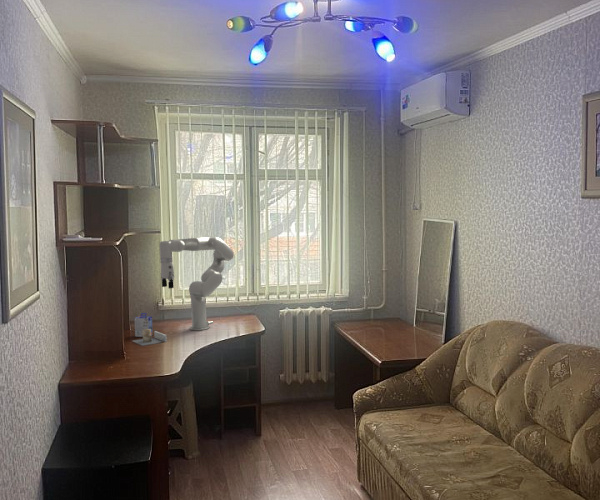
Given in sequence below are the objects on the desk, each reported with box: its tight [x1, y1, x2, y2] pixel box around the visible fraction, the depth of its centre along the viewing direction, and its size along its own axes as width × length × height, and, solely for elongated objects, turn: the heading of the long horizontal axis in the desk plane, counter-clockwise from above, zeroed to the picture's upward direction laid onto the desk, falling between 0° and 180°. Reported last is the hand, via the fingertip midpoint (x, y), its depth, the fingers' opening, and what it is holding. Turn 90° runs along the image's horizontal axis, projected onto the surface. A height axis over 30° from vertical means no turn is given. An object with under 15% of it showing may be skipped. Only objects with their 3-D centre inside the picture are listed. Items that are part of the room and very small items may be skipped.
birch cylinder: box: [142, 329, 152, 342], centre depth 358 cm, size 5×5×7 cm
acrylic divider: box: [153, 330, 168, 343], centre depth 363 cm, size 1×16×4 cm, turn 37°
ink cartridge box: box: [134, 312, 154, 338], centre depth 374 cm, size 10×6×14 cm, turn 78°
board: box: [131, 336, 163, 347], centre depth 359 cm, size 13×16×1 cm
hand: (167, 287), depth 375 cm, fingers open, 9 cm apart
